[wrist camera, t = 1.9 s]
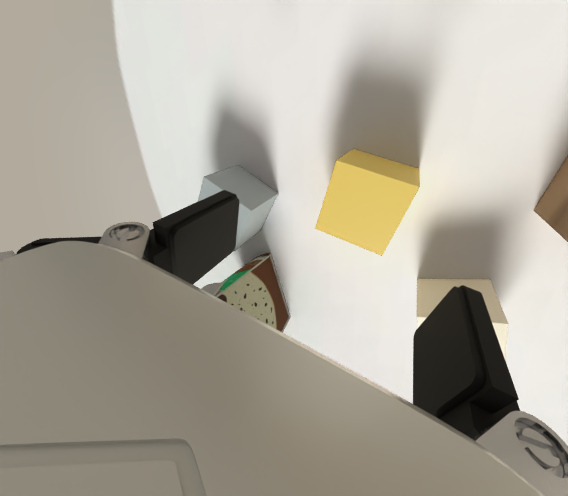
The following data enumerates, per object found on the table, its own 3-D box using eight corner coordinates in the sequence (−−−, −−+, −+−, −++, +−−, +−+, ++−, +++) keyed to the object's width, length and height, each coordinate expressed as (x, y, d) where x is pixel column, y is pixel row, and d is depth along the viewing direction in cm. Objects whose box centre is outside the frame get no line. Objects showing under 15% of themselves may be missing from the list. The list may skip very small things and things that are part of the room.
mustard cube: (419, 168, 17) (419, 187, 14) (388, 226, 20) (382, 255, 16) (353, 148, 19) (336, 160, 15) (333, 206, 22) (315, 228, 18)
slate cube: (278, 193, 23) (251, 211, 20) (260, 229, 27) (234, 251, 23) (238, 164, 24) (203, 176, 20) (225, 204, 27) (193, 220, 23)
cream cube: (489, 278, 19) (508, 324, 15) (487, 327, 21) (503, 378, 17) (416, 278, 21) (416, 316, 18) (420, 321, 23) (421, 365, 19)
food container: (226, 243, 30) (158, 292, 22) (267, 241, 27) (206, 297, 19) (255, 319, 35) (208, 381, 27) (293, 325, 32) (252, 397, 24)
